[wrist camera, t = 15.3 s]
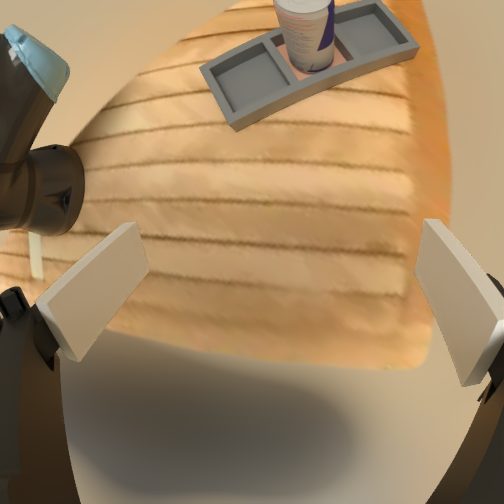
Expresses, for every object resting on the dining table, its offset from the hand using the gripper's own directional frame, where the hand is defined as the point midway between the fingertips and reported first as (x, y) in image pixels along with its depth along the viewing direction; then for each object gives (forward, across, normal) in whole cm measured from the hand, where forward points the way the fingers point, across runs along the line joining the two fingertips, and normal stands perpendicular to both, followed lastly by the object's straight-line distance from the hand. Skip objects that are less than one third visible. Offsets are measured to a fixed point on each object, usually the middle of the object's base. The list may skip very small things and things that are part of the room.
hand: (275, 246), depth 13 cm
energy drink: (+26, +3, +12) cm, 29 cm away
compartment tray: (+26, +3, +12) cm, 29 cm away
